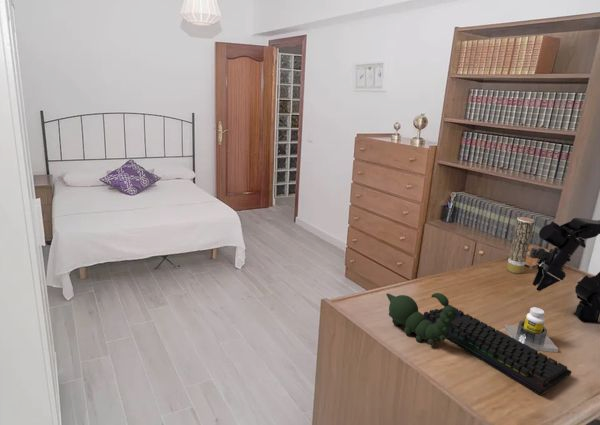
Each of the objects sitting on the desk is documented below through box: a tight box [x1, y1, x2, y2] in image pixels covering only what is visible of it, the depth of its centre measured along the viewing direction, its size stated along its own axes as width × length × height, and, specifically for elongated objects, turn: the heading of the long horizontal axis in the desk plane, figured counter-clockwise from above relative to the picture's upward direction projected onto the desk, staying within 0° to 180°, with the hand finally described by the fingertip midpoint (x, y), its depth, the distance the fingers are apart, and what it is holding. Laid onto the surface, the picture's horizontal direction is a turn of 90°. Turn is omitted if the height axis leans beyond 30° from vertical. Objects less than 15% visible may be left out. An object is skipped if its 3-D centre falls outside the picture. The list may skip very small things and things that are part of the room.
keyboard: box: [423, 306, 572, 396], centre depth 135 cm, size 42×16×5 cm, turn 34°
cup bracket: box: [504, 320, 559, 353], centre depth 141 cm, size 12×12×5 cm
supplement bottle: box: [523, 306, 546, 333], centre depth 140 cm, size 5×5×10 cm
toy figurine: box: [386, 292, 457, 346], centre depth 139 cm, size 9×19×25 cm
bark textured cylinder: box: [506, 216, 535, 275], centre depth 192 cm, size 7×7×25 cm
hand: (535, 287), depth 152 cm, fingers open, 9 cm apart
